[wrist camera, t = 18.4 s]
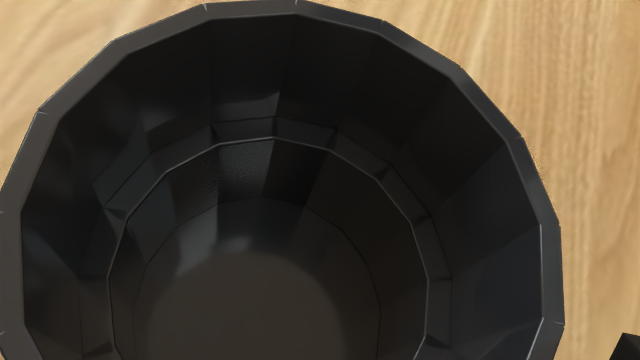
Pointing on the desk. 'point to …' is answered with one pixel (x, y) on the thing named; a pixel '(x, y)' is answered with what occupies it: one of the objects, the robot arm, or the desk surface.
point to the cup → (276, 201)
